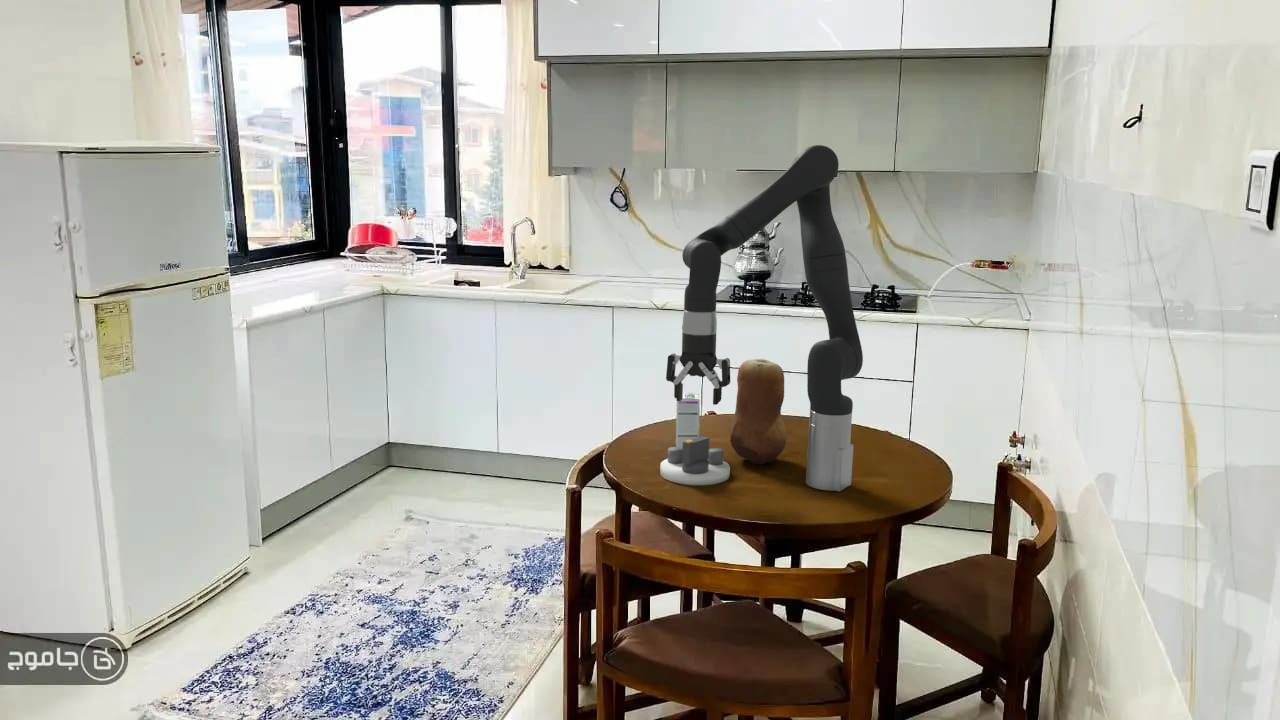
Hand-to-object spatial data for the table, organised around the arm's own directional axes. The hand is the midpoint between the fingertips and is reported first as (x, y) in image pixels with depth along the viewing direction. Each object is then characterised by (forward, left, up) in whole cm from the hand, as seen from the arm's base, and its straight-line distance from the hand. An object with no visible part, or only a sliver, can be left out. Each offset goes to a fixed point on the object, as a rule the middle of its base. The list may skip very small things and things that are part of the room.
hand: (697, 402), depth 212 cm
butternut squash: (-4, -21, -18) cm, 28 cm away
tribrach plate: (+2, -3, -18) cm, 18 cm away
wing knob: (0, 0, -16) cm, 16 cm away
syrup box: (+13, -16, -18) cm, 28 cm away
